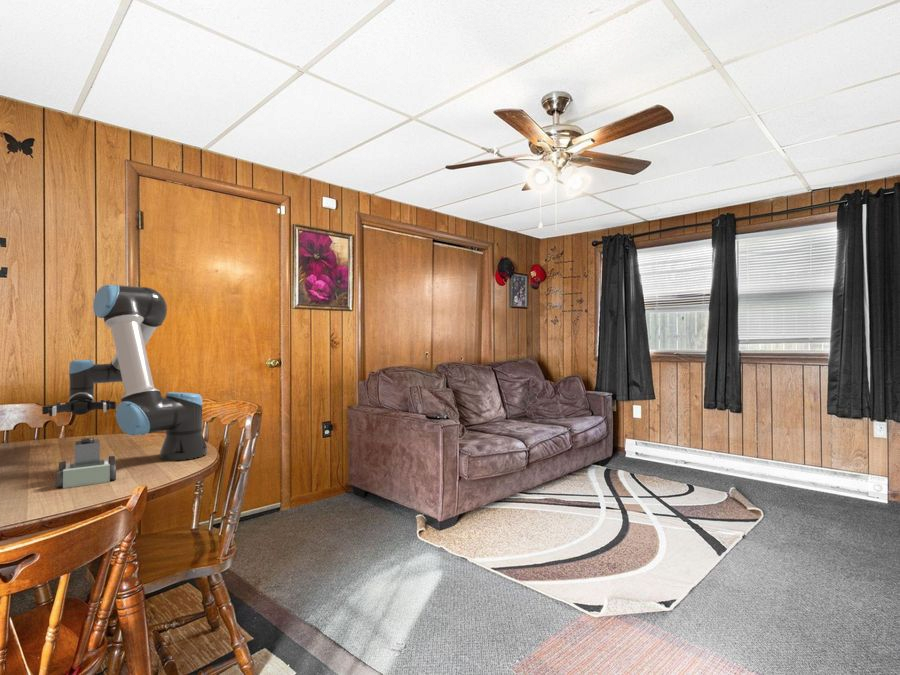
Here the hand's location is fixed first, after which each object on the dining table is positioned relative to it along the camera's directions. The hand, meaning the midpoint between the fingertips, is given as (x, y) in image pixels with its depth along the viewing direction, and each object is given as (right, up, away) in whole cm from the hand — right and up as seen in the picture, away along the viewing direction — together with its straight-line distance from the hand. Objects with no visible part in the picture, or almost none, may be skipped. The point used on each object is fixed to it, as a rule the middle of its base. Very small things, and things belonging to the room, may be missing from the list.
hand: (79, 410), depth 162 cm
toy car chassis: (+12, -19, -12) cm, 25 cm away
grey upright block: (+12, -17, -12) cm, 24 cm away
